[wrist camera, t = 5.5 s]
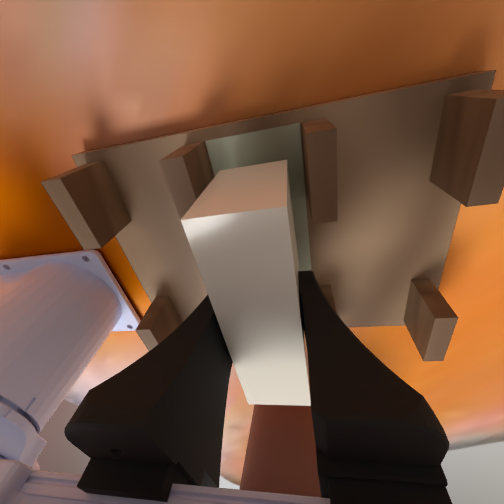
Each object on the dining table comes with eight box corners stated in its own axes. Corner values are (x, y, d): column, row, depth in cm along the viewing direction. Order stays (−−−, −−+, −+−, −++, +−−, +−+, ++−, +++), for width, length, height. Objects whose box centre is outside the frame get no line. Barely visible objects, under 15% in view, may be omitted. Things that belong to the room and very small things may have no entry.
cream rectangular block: (258, 324, 17) (248, 404, 12) (219, 170, 11) (180, 219, 7) (304, 322, 16) (311, 405, 12) (286, 159, 11) (287, 206, 7)
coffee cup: (351, 381, 23) (399, 606, 13) (316, 423, 28) (332, 608, 18) (253, 358, 23) (228, 569, 13) (236, 405, 28) (208, 582, 18)
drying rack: (172, 323, 21) (151, 367, 18) (84, 151, 14) (21, 172, 11) (422, 313, 18) (453, 366, 14) (479, 71, 10) (570, 65, 7)
